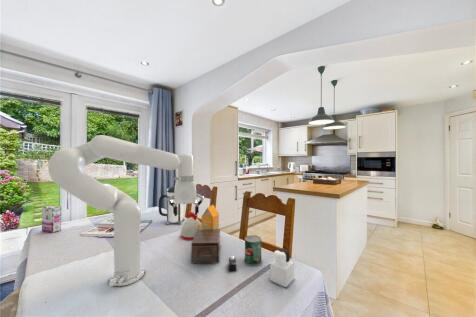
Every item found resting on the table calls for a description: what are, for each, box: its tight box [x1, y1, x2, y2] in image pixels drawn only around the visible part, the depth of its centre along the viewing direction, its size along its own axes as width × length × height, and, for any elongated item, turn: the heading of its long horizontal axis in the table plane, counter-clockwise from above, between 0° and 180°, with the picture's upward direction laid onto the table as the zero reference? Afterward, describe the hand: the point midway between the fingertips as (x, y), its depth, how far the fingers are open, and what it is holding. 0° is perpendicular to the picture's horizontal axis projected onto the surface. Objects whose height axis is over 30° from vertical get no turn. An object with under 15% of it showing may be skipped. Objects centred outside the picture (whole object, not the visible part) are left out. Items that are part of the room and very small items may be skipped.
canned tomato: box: [244, 234, 262, 267], centre depth 95 cm, size 8×8×11 cm
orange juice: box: [201, 204, 220, 229], centre depth 122 cm, size 8×9×20 cm
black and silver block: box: [228, 255, 237, 272], centre depth 91 cm, size 7×4×4 cm, turn 3°
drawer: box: [191, 244, 218, 264], centre depth 98 cm, size 21×12×7 cm, turn 3°
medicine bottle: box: [269, 248, 295, 288], centre depth 81 cm, size 7×7×12 cm
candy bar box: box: [41, 205, 62, 234], centre depth 134 cm, size 11×5×16 cm, turn 73°
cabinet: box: [190, 228, 221, 263], centre depth 103 cm, size 18×13×9 cm
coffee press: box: [158, 183, 185, 225], centre depth 152 cm, size 17×16×30 cm
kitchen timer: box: [180, 211, 202, 241], centre depth 127 cm, size 14×14×15 cm
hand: (186, 214), depth 96 cm, fingers open, 9 cm apart
